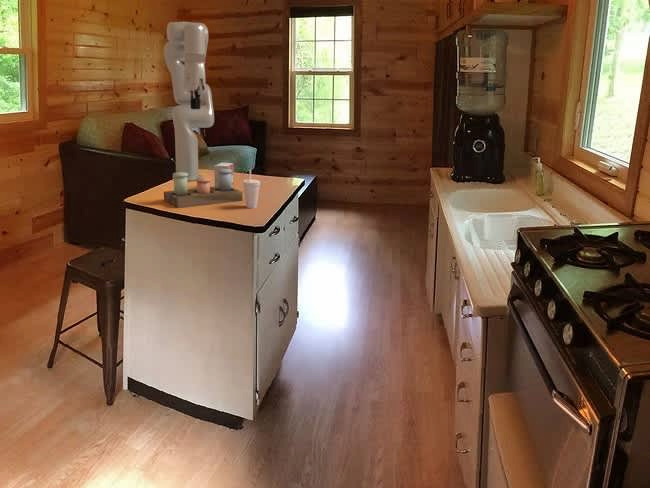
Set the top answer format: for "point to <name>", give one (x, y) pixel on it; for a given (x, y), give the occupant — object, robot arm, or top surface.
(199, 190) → the pink lidded jar
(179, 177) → the sage button
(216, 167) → the grey arched frame
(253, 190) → the smoothie
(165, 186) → the top surface
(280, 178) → the top surface
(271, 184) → the top surface
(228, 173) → the blue-grey jar
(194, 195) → the button board
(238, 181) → the top surface
